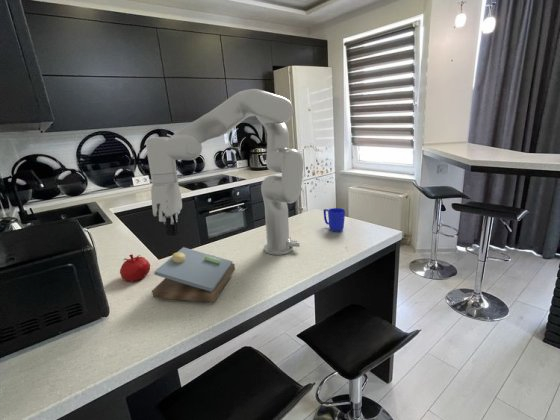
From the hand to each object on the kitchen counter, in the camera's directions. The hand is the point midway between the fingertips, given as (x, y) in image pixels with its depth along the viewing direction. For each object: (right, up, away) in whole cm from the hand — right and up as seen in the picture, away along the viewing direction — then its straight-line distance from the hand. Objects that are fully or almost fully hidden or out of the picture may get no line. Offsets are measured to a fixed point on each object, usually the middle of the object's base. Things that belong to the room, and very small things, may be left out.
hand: (173, 234), depth 94 cm
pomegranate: (-18, -17, +13) cm, 28 cm away
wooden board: (+7, -18, +4) cm, 20 cm away
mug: (+61, -2, +51) cm, 80 cm away
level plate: (+7, -12, +3) cm, 14 cm away
